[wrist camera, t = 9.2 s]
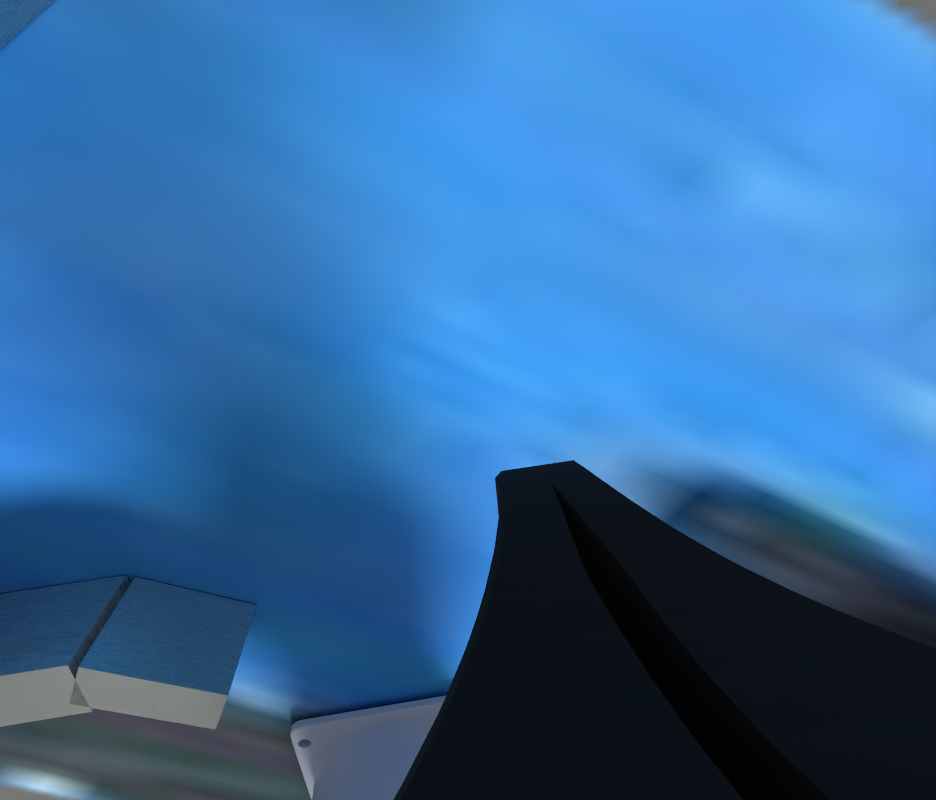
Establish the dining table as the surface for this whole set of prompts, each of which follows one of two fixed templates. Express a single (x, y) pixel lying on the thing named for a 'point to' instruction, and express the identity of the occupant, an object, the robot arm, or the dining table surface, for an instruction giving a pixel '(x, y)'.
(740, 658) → the robot arm
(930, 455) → the dining table surface
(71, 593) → the motor block
